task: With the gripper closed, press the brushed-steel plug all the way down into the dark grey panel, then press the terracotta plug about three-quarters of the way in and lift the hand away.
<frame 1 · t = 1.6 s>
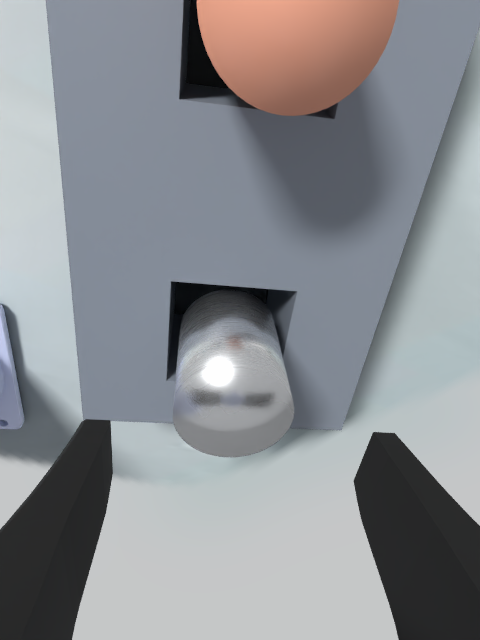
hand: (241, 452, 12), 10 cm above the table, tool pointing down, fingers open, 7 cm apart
steel plug: (230, 368, 15), point 7 cm above the table, slide at 0.0 cm
plug panel: (236, 167, 18), on the table
terracotta plug: (280, 11, 10), point 7 cm above the table, slide at 0.0 cm
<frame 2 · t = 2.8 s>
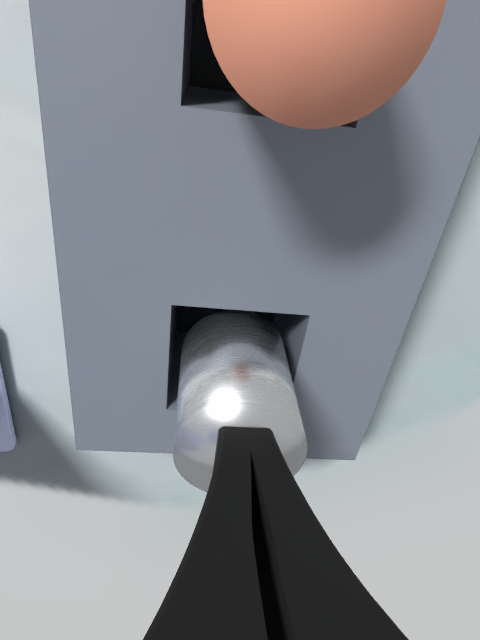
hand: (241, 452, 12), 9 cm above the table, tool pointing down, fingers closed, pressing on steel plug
steel plug: (236, 396, 14), point 7 cm above the table, slide at 0.2 cm, touching gripper
plug panel: (242, 177, 17), on the table
terracotta plug: (299, 5, 8), point 7 cm above the table, slide at 0.0 cm
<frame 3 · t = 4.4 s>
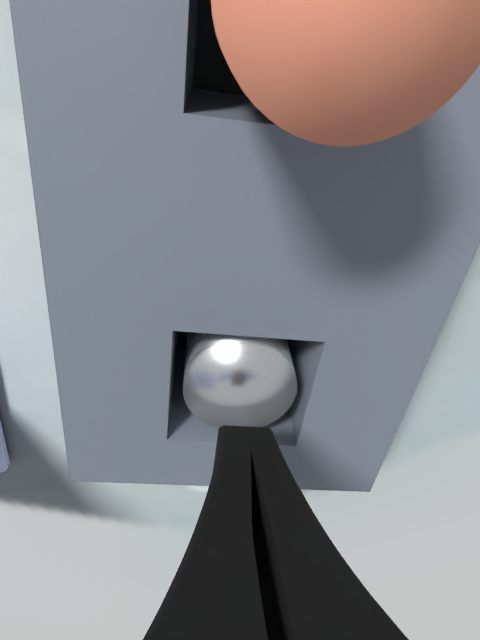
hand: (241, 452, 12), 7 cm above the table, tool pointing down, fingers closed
steel plug: (237, 348, 16), point 3 cm above the table, slide at 4.2 cm
plug panel: (251, 187, 15), on the table
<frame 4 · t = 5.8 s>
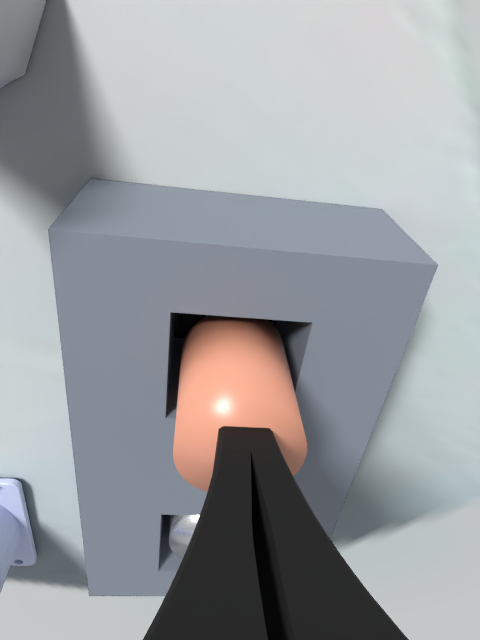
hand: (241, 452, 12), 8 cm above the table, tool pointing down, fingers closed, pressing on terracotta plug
steel plug: (208, 498, 22), point 3 cm above the table, slide at 4.2 cm
plug panel: (217, 387, 22), on the table
terracotta plug: (236, 397, 14), point 6 cm above the table, slide at 0.6 cm, touching gripper
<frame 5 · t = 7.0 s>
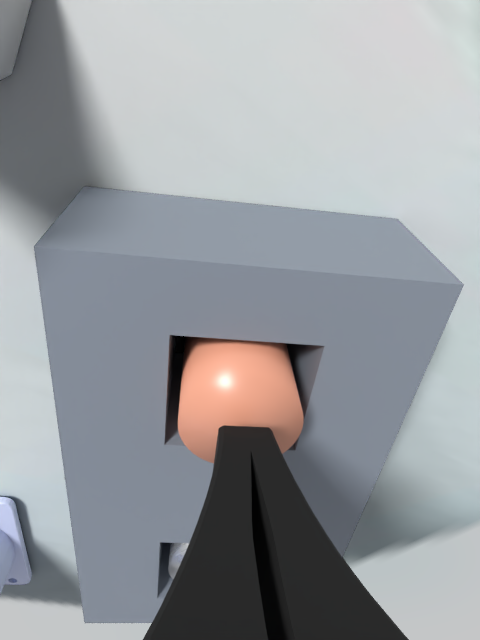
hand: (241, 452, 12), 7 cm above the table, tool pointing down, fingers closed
steel plug: (210, 520, 21), point 3 cm above the table, slide at 4.2 cm
plug panel: (220, 404, 20), on the table
terracotta plug: (237, 374, 15), point 4 cm above the table, slide at 2.9 cm
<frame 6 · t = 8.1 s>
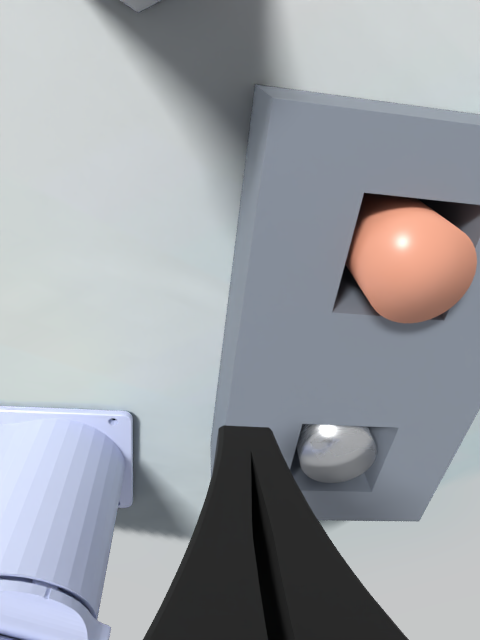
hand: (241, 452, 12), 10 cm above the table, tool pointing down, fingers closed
steel plug: (327, 422, 23), point 3 cm above the table, slide at 4.2 cm
plug panel: (337, 312, 22), on the table
terracotta plug: (395, 249, 16), point 4 cm above the table, slide at 2.9 cm
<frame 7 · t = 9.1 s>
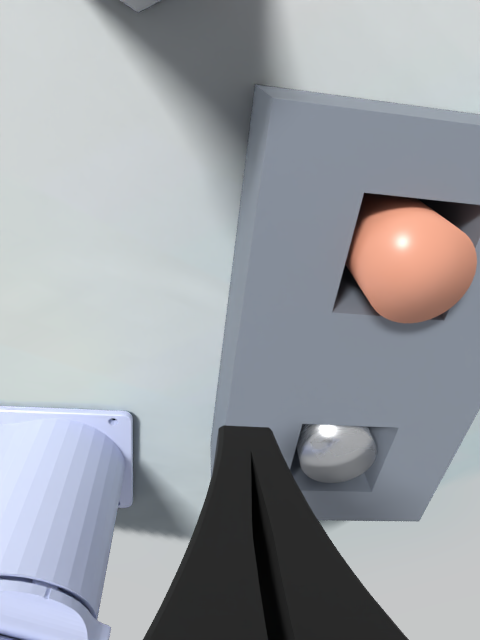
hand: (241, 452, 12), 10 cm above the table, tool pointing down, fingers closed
steel plug: (327, 422, 23), point 3 cm above the table, slide at 4.2 cm
plug panel: (337, 312, 22), on the table
terracotta plug: (395, 249, 16), point 4 cm above the table, slide at 2.9 cm
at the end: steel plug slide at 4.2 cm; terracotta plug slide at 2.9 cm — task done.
